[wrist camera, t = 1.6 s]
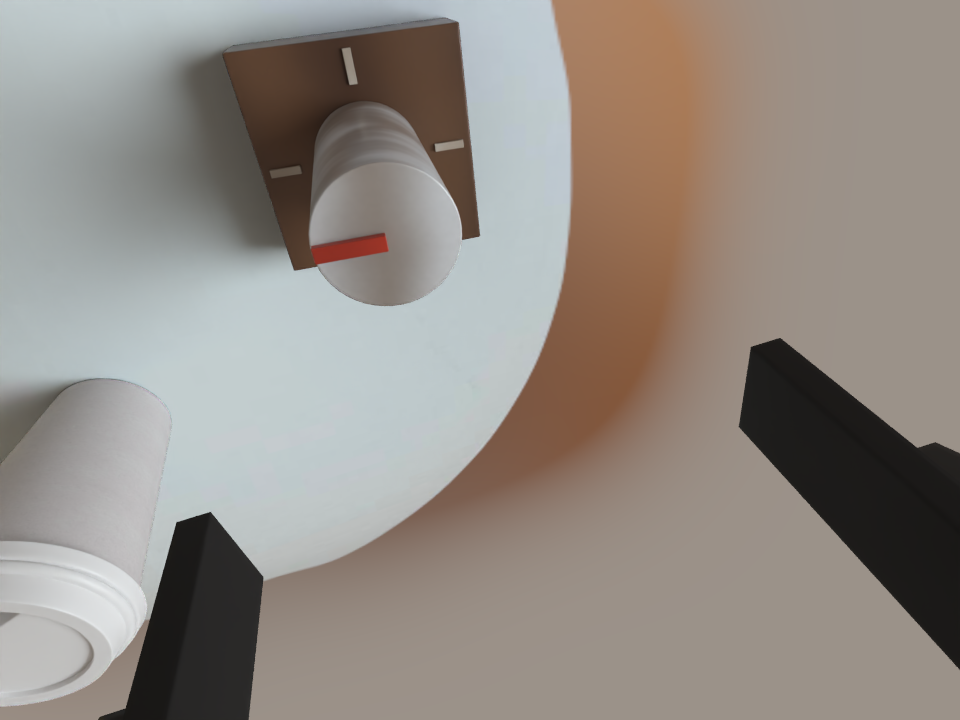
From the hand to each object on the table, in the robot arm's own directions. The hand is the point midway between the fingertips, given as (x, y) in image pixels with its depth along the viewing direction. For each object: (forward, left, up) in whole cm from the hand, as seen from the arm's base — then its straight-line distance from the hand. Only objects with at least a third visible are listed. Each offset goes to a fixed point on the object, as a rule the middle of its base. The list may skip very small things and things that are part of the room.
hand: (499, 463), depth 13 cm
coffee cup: (+21, +11, -21) cm, 32 cm away
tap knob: (+2, -3, -18) cm, 18 cm away
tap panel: (+2, -3, -21) cm, 21 cm away
